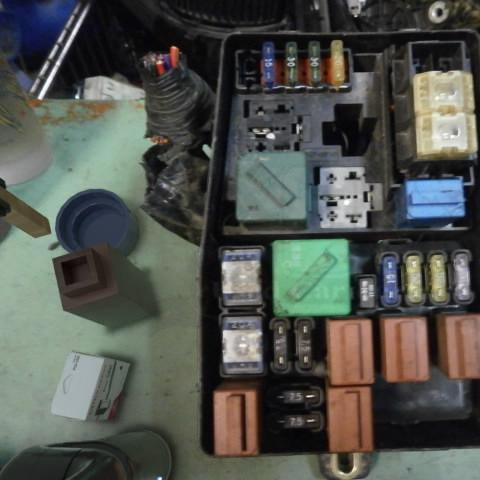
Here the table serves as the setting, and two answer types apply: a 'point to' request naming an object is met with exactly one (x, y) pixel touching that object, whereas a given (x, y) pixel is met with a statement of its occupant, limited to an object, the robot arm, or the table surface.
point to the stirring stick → (25, 216)
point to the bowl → (96, 222)
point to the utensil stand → (102, 286)
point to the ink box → (89, 387)
